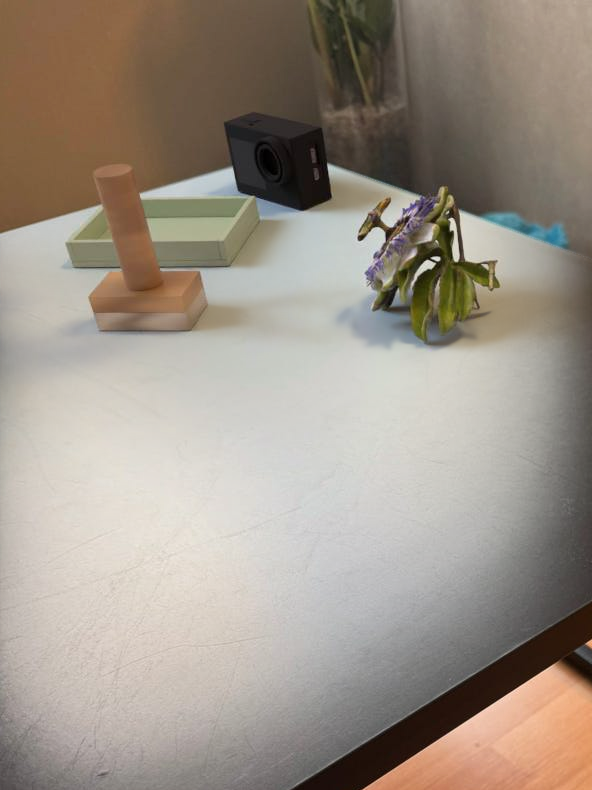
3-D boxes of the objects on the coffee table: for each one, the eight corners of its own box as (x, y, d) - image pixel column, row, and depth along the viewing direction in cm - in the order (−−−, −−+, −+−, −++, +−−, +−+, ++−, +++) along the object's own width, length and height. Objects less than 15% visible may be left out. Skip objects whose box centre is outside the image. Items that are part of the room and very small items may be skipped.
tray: (72, 267, 95) (64, 242, 93) (115, 221, 103) (108, 197, 101) (229, 266, 93) (223, 240, 92) (260, 220, 101) (255, 195, 100)
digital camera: (227, 195, 107) (212, 124, 102) (266, 179, 110) (253, 110, 105) (293, 215, 102) (280, 141, 97) (332, 198, 105) (321, 126, 100)
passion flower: (395, 367, 89) (361, 229, 87) (515, 336, 87) (483, 195, 86) (372, 351, 78) (332, 192, 76) (510, 315, 76) (472, 152, 75)
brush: (98, 330, 85) (50, 182, 77) (120, 304, 88) (75, 160, 80) (190, 330, 84) (151, 180, 76) (208, 304, 88) (172, 158, 79)
